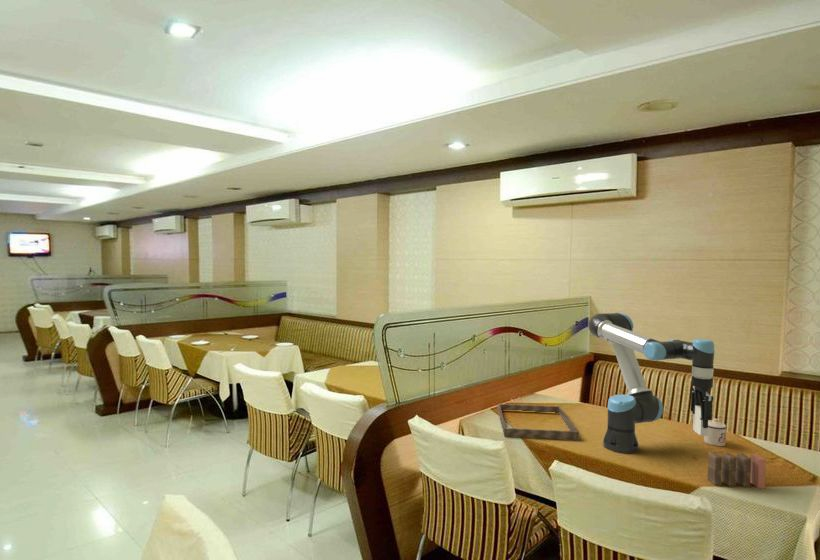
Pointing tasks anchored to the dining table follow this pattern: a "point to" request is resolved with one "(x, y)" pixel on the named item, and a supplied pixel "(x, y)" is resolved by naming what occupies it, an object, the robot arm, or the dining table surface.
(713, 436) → the teacup with lid
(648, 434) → the dining table surface
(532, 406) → the serving frame
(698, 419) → the domino
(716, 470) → the domino
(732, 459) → the domino
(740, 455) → the domino
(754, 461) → the domino
